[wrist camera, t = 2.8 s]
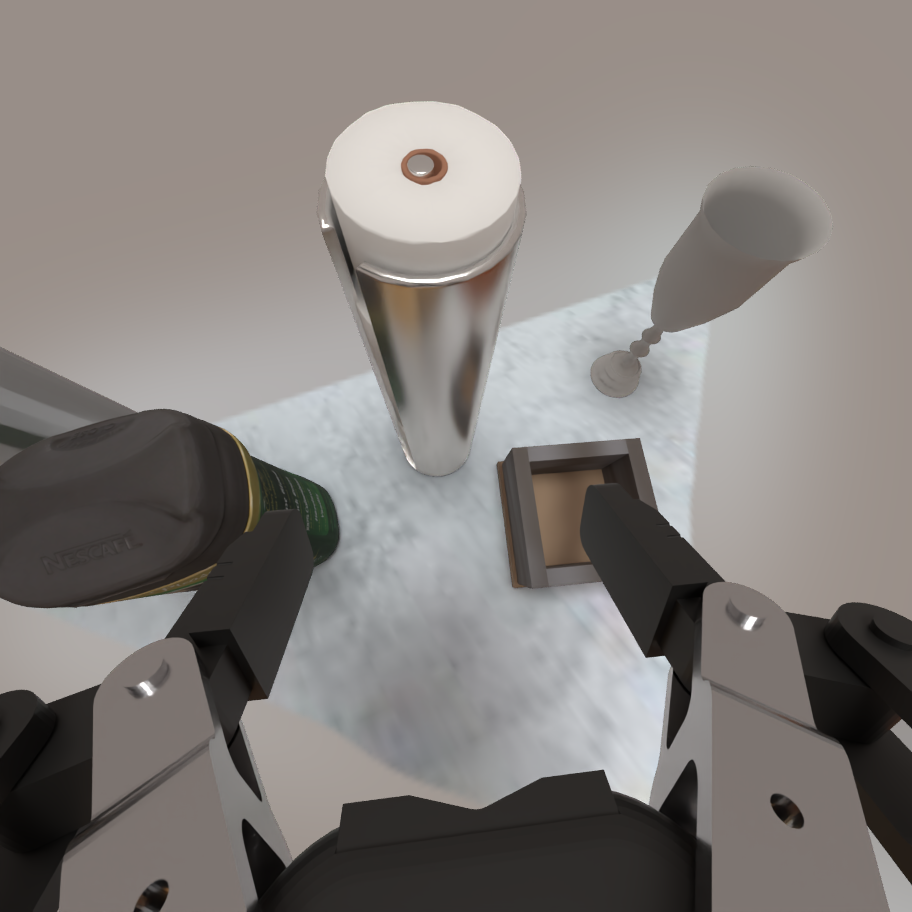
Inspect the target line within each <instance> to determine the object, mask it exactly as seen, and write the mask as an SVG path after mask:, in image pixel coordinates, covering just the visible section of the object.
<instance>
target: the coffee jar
mask: <svg viewBox="0 0 912 912" xmlns="http://www.w3.org/2000/svg"><path fill="white" fill-rule="evenodd" d="M286 509H298V510H299V512H300V513H301V516H302V519H303V522H304V525H305V529H306V532H307V535H308V538H309V541H310V544H311V547H312V551H313V557H314V564H313V567H314V566H317V565H319V564H320V563H322V562H324V561H325V560H326V559H327V558H328V557H329V556H330V555H331V554H332V553H333V551H334V550H335V548H336V546H337V543H338V538H339V527H338V521H337V515H336V511H335V507H334V504H333V502H332V499H331V497H330V495H329V494H328V492H327V491H326V490H325V489H324V488H323V487H321V486H320V485H318V484H316V483H314V482H312V481H310V480H308V479H306V478H303V477H301V476H298V475H295V474H292V473H290V472H287V471H284V470H282V469H280V468H277V467H275V466H273V465H270V464H268V463H266V462H264V461H261V460H259V459H257V458H255V457H252V456H250V454H249V453H248V451H247V449H246V448H245V446H244V445H243V444H242V443H241V442H240V441H239V440H238V439H237V438H236V437H235V436H234V435H232V434H231V433H230V432H228V431H226V430H225V429H223V428H220V427H218V426H216V425H213V424H210V423H208V422H206V421H203V420H200V419H197V418H195V417H193V416H191V415H188V414H185V413H182V412H179V411H175V410H170V409H156V410H155V409H154V410H147V411H142V412H139V413H134V414H129V415H125V416H120V417H116V418H112V419H108V420H104V421H101V422H97V423H94V424H90V425H87V426H83V427H80V428H77V429H74V430H71V431H68V432H65V433H62V434H58V435H54V436H52V437H49V438H46V439H44V440H42V441H39V442H37V443H35V444H33V445H31V446H29V447H28V448H26V449H24V450H22V451H21V452H19V453H17V454H16V455H14V456H13V457H11V458H10V459H9V460H7V461H6V462H4V463H3V464H2V465H1V466H0V598H2V599H4V600H7V601H9V602H11V603H14V604H18V605H21V606H25V607H34V608H57V607H74V608H77V607H81V606H92V605H98V604H105V603H111V602H117V601H123V600H130V599H136V598H143V597H149V596H155V595H162V594H170V593H178V592H188V591H196V590H198V589H199V588H200V586H201V585H202V584H203V582H204V581H207V576H208V575H209V573H210V572H211V570H212V569H213V567H215V566H217V562H218V560H219V559H220V557H221V556H222V554H223V553H224V551H225V550H226V548H227V547H228V546H229V545H230V544H232V543H233V542H234V541H235V540H236V539H238V538H239V537H240V536H241V535H242V534H244V533H245V532H250V531H253V530H254V528H255V526H256V525H257V523H258V522H259V520H260V519H261V517H262V515H263V514H264V513H265V512H266V511H274V510H286Z"/></svg>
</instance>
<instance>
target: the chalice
mask: <svg viewBox="0 0 912 912" xmlns="http://www.w3.org/2000/svg"><path fill="white" fill-rule="evenodd" d="M832 229H833V223H832V218H831V212H830V210H829V208H828V207H827V205H826V203H825V202H824V200H823V198H822V197H821V196H820V195H819V194H818V193H817V192H816V191H815V190H814V189H813V188H811V187H810V186H809V185H808V184H807V183H805V182H803V181H801V180H800V179H798V178H796V177H794V176H793V175H791V174H788V173H785V172H782V171H779V170H775V169H772V168H765V167H756V166H755V167H754V166H749V167H741V168H734V169H731V170H729V171H726V172H724V173H721V174H719V175H718V176H717V177H716V178H714V179H713V180H712V181H711V182H710V183H709V184H708V186H707V188H706V190H705V193H704V195H703V198H702V203H701V208H700V211H699V213H698V214H697V216H696V217H695V218H694V220H693V221H692V222H691V224H690V225H689V226H688V228H687V229H686V230H685V232H684V233H683V235H682V236H681V237H680V239H679V240H678V241H677V243H676V244H675V245H674V247H673V248H672V250H671V251H670V252H669V254H668V255H667V256H666V258H665V259H664V262H663V264H662V266H661V268H660V271H659V275H658V278H657V281H656V284H655V288H654V293H653V301H652V309H651V319H652V322H653V324H654V326H652V327H651V328H648V329H645V330H644V331H643V333H642V339H641V340H640V341H634V342H632V343H631V345H630V352H628V351H621V350H619V351H614V352H612V353H609V354H607V355H604V356H602V357H600V358H598V359H597V360H596V361H595V362H594V363H593V365H592V367H591V378H592V382H593V383H594V385H595V386H596V388H597V389H598V390H599V391H601V392H602V393H603V394H605V395H608V396H610V397H616V398H620V397H626V396H628V395H630V394H632V393H633V392H634V391H635V389H636V388H637V386H638V383H639V378H640V374H641V364H640V362H639V360H638V358H639V357H645V356H647V355H648V353H649V346H650V345H651V344H656V343H658V342H659V341H660V339H661V334H662V333H663V331H665V332H678V331H681V330H684V329H688V328H691V327H694V326H698V325H701V324H704V323H706V322H709V321H711V320H713V319H715V318H717V317H720V316H722V315H724V314H726V313H728V312H730V311H732V310H734V309H737V308H738V307H740V306H741V305H742V304H743V303H744V302H745V301H746V300H748V299H749V298H750V297H751V296H752V295H754V294H755V293H756V292H757V291H758V290H760V289H761V288H762V287H763V286H764V285H765V284H766V283H768V282H769V281H770V280H771V279H772V278H773V277H775V276H776V275H777V274H778V273H779V272H781V271H782V270H783V269H784V268H785V267H786V266H788V265H789V264H790V263H793V262H796V261H798V260H801V259H804V258H806V257H808V256H810V255H812V254H814V253H816V252H819V251H820V250H821V248H822V247H823V246H824V245H825V244H826V243H827V242H828V241H829V239H830V235H831V232H832Z"/></svg>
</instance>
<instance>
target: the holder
mask: <svg viewBox="0 0 912 912" xmlns="http://www.w3.org/2000/svg"><path fill="white" fill-rule="evenodd" d="M497 470H498V478H499V486H500V493H501V501H502V509H503V517H504V524H505V532H506V540H507V548H508V555H509V563H510V571H511V579H512V586H513V587H514V588H519V587H529V588H532V589H533V588H543V587H552V586H562V585H572V584H582V583H591V582H601V581H602V580H601V578H600V577H599V575H598V573H597V571H596V570H595V568H594V566H593V564H592V563H591V561H590V559H589V557H588V556H587V554H586V552H585V550H584V548H583V546H582V543H581V539H580V524H581V518H582V512H583V506H584V500H585V494H586V490H587V488H588V486H589V485H597V484H609V483H618V484H620V485H621V486H622V487H623V488H624V490H625V491H626V492H627V493H628V494H629V495H630V496H631V497H632V498H633V499H639V500H641V501H643V502H644V503H646V504H648V505H649V506H651V507H653V508H654V509H656V510H657V511H658V508H657V505H656V501H655V497H654V493H653V489H652V485H651V481H650V477H649V473H648V469H647V465H646V461H645V457H644V453H643V449H642V445H641V441H640V438H635V439H622V440H609V441H597V442H584V443H571V444H559V445H546V446H533V447H521V448H512V449H511V451H510V452H509V454H508V456H507V457H506V459H505V460H504V461H502V462H498V463H497Z"/></svg>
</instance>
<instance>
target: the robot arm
mask: <svg viewBox="0 0 912 912" xmlns="http://www.w3.org/2000/svg"><path fill="white" fill-rule="evenodd" d="M134 413H137V412H135V411H133V410H131V409H129V408H127V407H125V406H123V405H121V404H119V403H117V402H115V401H112V400H111V399H109V398H107V397H104V396H102V395H100V394H98V393H96V392H94V391H92V390H90V389H88V388H86V387H83V386H81V385H79V384H77V383H75V382H73V381H71V380H69V379H67V378H65V377H62V376H60V375H58V374H56V373H54V372H52V371H50V370H48V369H46V368H43V367H42V366H39V365H37V364H35V363H33V362H31V361H29V360H27V359H25V358H23V357H21V356H19V355H16V354H14V353H12V352H10V351H8V350H6V349H4V348H2V347H0V466H1V465H2V464H3V463H4V462H6V461H7V460H9V459H10V458H11V457H13V456H14V455H16V454H17V453H19V452H21V451H22V450H24V449H26V448H28V447H29V446H31V445H33V444H35V443H37V442H39V441H42V440H44V439H46V438H49V437H52V436H54V435H58V434H62V433H65V432H68V431H71V430H74V429H77V428H80V427H83V426H87V425H90V424H94V423H97V422H101V421H104V420H108V419H112V418H116V417H120V416H125V415H129V414H134ZM580 539H581V543H582V546H583V548H584V550H585V552H586V554H587V556H588V557H589V559H590V561H591V563H592V564H593V566H594V568H595V570H596V571H597V573H598V575H599V577H600V578H601V580H602V582H603V584H604V585H605V587H606V589H607V591H608V592H609V594H610V596H611V598H612V599H613V601H614V603H615V605H616V606H617V608H618V610H619V612H620V613H621V615H622V617H623V619H624V620H625V622H626V624H627V626H628V627H629V629H630V631H631V633H632V634H633V636H634V638H635V640H636V641H637V643H638V645H639V647H640V648H641V650H642V652H643V654H644V655H645V657H646V658H648V657H657V656H665V657H666V658H667V660H668V661H669V663H670V665H671V667H670V670H669V673H668V680H667V690H666V699H665V709H664V719H663V728H662V738H661V748H660V756H659V761H658V766H657V770H656V773H655V777H654V781H653V785H652V790H651V795H650V801H649V805H647V804H645V803H643V802H641V801H639V800H637V799H635V798H632V797H629V796H627V795H624V794H621V793H618V792H614V791H611V788H610V786H609V783H608V780H607V777H606V775H605V772H604V770H598V771H590V772H582V773H575V774H567V775H560V776H552V777H544V778H541V779H539V780H537V781H535V782H533V783H531V784H529V785H527V786H525V787H523V788H521V789H519V790H518V791H516V792H514V793H512V794H510V795H508V796H506V797H504V798H502V799H500V800H498V801H497V802H495V803H493V804H491V805H489V806H487V807H485V808H482V809H477V810H474V809H468V808H464V807H459V806H455V805H450V804H446V803H441V802H437V801H432V800H428V799H423V798H419V797H414V796H410V795H408V796H400V797H392V798H385V799H377V800H369V801H362V802H354V803H347V804H343V807H342V814H341V821H340V827H338V828H336V829H334V830H333V831H331V832H329V833H328V834H326V835H325V836H323V837H322V838H320V839H319V840H317V841H316V842H315V843H313V844H312V845H311V846H309V847H308V848H307V849H306V850H305V851H304V852H302V853H301V854H300V855H299V856H298V857H297V858H295V860H294V861H293V860H292V857H291V854H290V851H289V848H288V846H287V843H286V841H285V838H284V836H283V834H282V831H281V829H280V827H279V825H278V823H277V821H276V819H275V817H274V815H273V812H272V810H271V807H270V805H269V802H268V799H267V796H266V793H265V789H264V786H263V783H262V780H261V777H260V774H259V771H258V768H257V765H256V762H255V759H254V755H253V753H252V750H251V747H250V743H249V740H248V737H247V734H246V731H245V728H244V725H243V722H242V720H241V716H242V714H243V711H244V709H245V706H246V704H247V701H252V700H261V699H268V697H269V695H270V692H271V689H272V686H273V683H274V680H275V677H276V675H277V672H278V669H279V666H280V663H281V660H282V658H283V655H284V652H285V649H286V646H287V643H288V641H289V638H290V635H291V632H292V629H293V626H294V623H295V621H296V618H297V615H298V612H299V609H300V606H301V604H302V601H303V598H304V595H305V592H306V589H307V587H308V584H309V581H310V578H311V575H312V571H313V564H314V557H313V551H312V547H311V544H310V541H309V538H308V535H307V532H306V529H305V525H304V522H303V519H302V516H301V513H300V512H299V510H298V509H286V510H274V511H266V512H265V513H264V514H263V515H262V517H261V519H260V520H259V522H258V523H257V525H256V526H255V528H254V530H253V531H250V532H245V533H244V534H242V535H241V536H240V537H239V538H238V539H236V540H235V541H234V542H233V543H232V544H230V545H229V546H228V547H227V548H226V550H225V551H224V553H223V554H222V556H221V557H220V559H219V560H218V562H217V566H215V567H213V569H212V570H211V572H210V573H209V575H208V576H207V581H204V582H203V584H202V585H201V586H200V588H199V589H198V591H197V592H196V594H195V595H194V597H193V598H192V600H191V601H190V603H189V604H188V605H187V607H186V608H185V610H184V611H183V613H182V614H181V616H180V617H179V619H178V620H177V622H176V623H175V624H174V626H173V627H172V629H171V630H170V632H169V633H168V635H167V636H166V638H165V639H163V640H159V641H156V642H154V643H151V644H149V645H147V646H145V647H143V648H141V649H139V650H138V651H136V652H134V653H133V654H132V655H130V656H129V657H127V658H126V659H125V660H124V661H122V662H121V663H120V664H119V665H118V666H117V667H116V668H115V669H114V670H113V671H111V673H110V674H109V675H108V676H107V677H106V678H105V680H104V681H103V683H102V684H100V685H97V686H94V687H92V688H89V689H86V690H84V691H81V692H78V693H75V694H73V695H70V696H67V697H65V698H62V699H59V700H56V701H54V702H51V703H48V704H45V703H44V702H43V701H42V700H41V699H40V698H39V697H38V696H36V695H35V694H34V693H33V692H31V691H28V690H15V691H10V692H6V693H3V694H0V912H57V911H58V909H59V912H890V910H889V907H888V902H887V899H886V895H885V892H884V888H883V884H882V880H881V876H880V873H879V869H878V865H877V862H876V858H875V854H874V851H873V847H872V843H871V840H870V836H869V832H868V828H867V826H868V827H869V829H870V830H871V831H872V833H873V834H874V835H875V837H876V838H877V839H878V840H879V842H880V843H881V845H882V846H883V847H884V848H885V850H886V851H887V853H888V854H889V855H890V857H891V858H892V859H893V861H894V862H895V863H896V864H897V866H898V867H899V869H900V870H901V871H902V873H903V874H904V875H905V877H906V878H907V879H908V881H909V882H910V883H911V884H912V752H911V751H910V750H909V749H908V748H907V747H906V746H905V745H904V744H903V743H902V741H901V740H900V739H899V738H897V736H896V735H895V734H894V733H893V732H892V731H891V730H890V729H891V728H892V727H893V726H894V725H896V723H898V722H899V721H900V720H901V719H903V720H904V721H905V722H906V723H907V724H908V725H909V726H910V727H911V728H912V621H911V620H909V619H907V618H905V617H903V616H901V615H899V614H897V613H895V612H892V611H889V610H887V609H884V608H881V607H878V606H874V605H870V604H866V603H855V602H854V603H853V602H852V603H846V604H843V605H841V606H840V607H839V608H838V610H837V611H836V612H835V614H834V615H833V617H832V618H831V619H823V618H818V617H812V616H806V615H800V614H795V613H789V612H784V611H783V610H782V609H781V608H780V607H779V606H778V605H777V604H776V603H775V602H774V601H772V600H771V599H769V598H768V597H766V596H765V595H763V594H761V593H760V592H758V591H756V590H754V589H751V588H749V587H746V586H743V585H740V584H736V583H731V582H725V581H724V580H723V579H722V577H720V575H719V574H718V573H717V572H716V571H715V570H713V568H712V567H711V566H710V565H709V564H708V563H707V562H706V561H705V560H704V559H703V558H702V557H701V556H700V555H699V553H698V552H697V551H696V550H695V549H694V548H693V547H692V546H691V545H690V544H689V543H688V542H687V541H686V540H685V539H684V538H681V537H680V534H679V533H678V532H677V531H676V530H675V528H674V527H673V526H670V525H669V522H668V521H667V520H666V519H665V518H664V517H663V516H662V515H661V514H660V513H659V512H658V511H657V510H656V509H654V508H653V507H651V506H649V505H648V504H646V503H644V502H643V501H641V500H639V499H633V498H632V497H631V496H630V495H629V494H628V493H627V492H626V491H625V490H624V488H623V487H622V486H621V485H620V484H618V483H609V484H597V485H589V486H588V488H587V490H586V494H585V500H584V506H583V512H582V518H581V524H580Z"/></svg>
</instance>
